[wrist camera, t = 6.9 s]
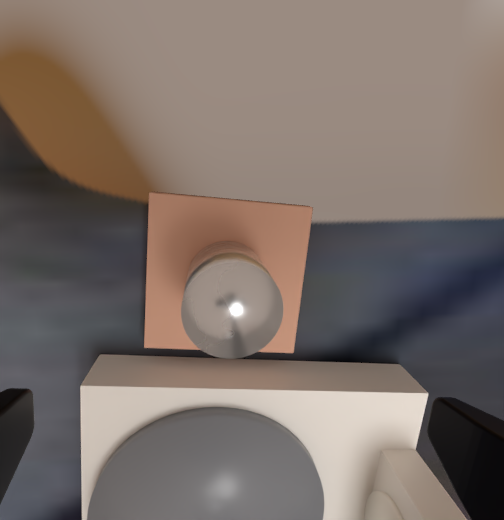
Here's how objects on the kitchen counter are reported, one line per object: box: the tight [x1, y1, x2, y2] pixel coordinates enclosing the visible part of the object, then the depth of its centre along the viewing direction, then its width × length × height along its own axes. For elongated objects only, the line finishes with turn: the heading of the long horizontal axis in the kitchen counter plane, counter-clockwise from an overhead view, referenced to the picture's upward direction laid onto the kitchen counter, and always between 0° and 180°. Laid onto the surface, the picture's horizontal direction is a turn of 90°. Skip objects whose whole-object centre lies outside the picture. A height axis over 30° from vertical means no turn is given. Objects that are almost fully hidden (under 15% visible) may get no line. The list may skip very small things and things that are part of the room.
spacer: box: [181, 241, 284, 359], centre depth 16 cm, size 4×4×4 cm
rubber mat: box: [144, 192, 313, 353], centre depth 19 cm, size 8×8×1 cm
